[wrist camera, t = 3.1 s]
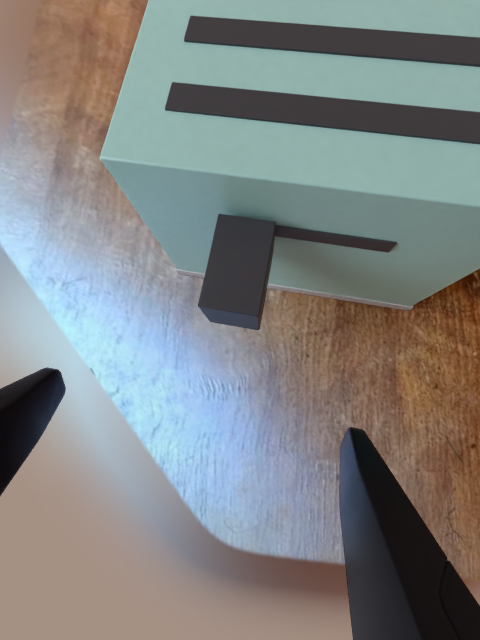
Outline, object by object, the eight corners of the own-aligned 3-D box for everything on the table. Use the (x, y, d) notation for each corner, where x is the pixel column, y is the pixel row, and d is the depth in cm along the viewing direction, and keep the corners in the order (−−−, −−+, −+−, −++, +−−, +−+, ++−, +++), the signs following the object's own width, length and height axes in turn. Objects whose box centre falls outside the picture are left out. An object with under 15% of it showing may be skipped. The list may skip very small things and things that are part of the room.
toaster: (407, 311, 22) (581, 219, 10) (178, 274, 23) (93, 158, 12) (418, 190, 24) (576, -8, 12) (204, 164, 25) (154, -34, 13)
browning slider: (259, 330, 15) (258, 316, 12) (209, 321, 15) (197, 306, 12) (273, 251, 16) (276, 220, 13) (226, 244, 16) (218, 212, 13)
